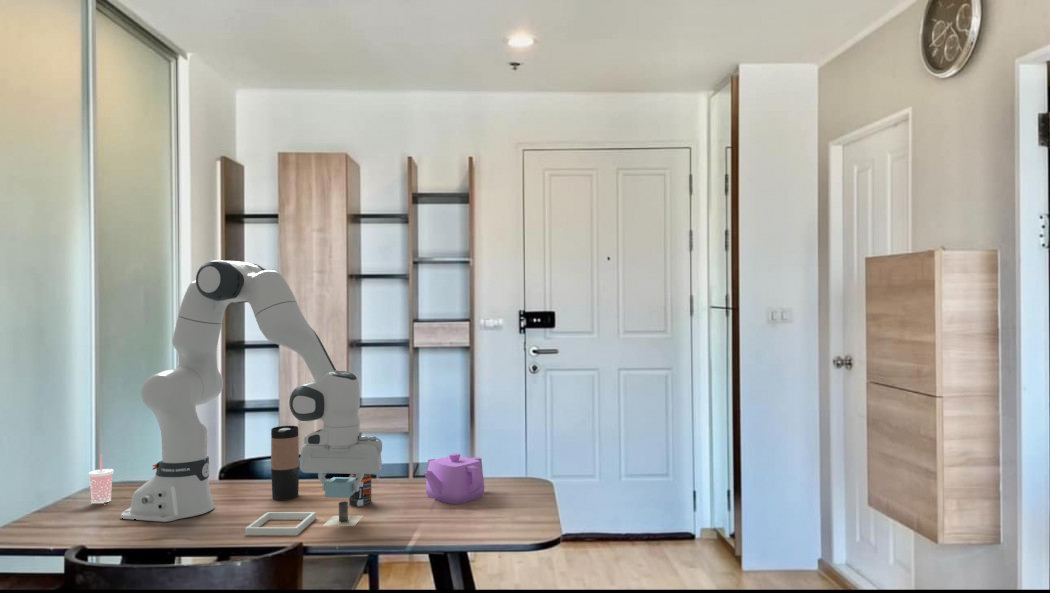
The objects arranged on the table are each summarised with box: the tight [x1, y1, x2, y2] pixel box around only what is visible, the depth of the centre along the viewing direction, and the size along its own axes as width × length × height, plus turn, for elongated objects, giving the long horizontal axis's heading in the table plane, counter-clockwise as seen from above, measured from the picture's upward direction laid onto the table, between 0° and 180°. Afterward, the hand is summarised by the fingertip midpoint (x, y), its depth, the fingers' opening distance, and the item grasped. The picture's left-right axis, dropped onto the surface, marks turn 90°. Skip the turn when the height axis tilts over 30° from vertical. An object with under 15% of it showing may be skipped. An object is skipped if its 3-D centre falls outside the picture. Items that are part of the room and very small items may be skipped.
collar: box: [324, 476, 356, 499], centre depth 171 cm, size 6×7×4 cm
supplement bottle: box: [348, 474, 372, 508], centre depth 186 cm, size 6×6×11 cm
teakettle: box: [423, 452, 485, 506], centre depth 195 cm, size 17×17×12 cm
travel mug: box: [270, 425, 300, 501], centre depth 197 cm, size 8×8×20 cm
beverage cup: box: [88, 453, 114, 504], centre depth 193 cm, size 6×6×14 cm
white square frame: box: [244, 511, 317, 536], centre depth 167 cm, size 13×13×3 cm
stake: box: [322, 500, 364, 527], centre depth 171 cm, size 8×8×6 cm
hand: (340, 490), depth 171 cm, fingers closed on collar, 6 cm apart
